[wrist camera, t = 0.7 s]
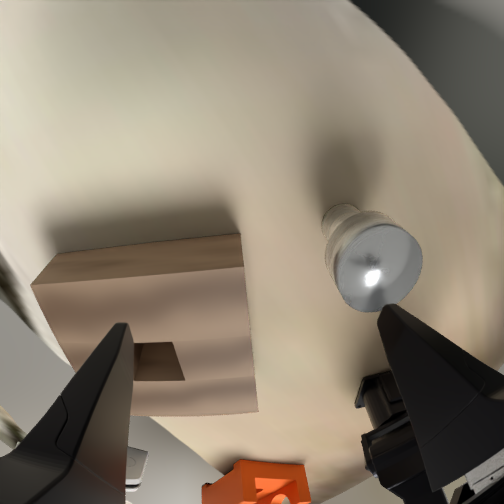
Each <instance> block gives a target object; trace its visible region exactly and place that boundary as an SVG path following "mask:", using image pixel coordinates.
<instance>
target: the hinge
mask: <svg viewBox="0 0 504 504" xmlns="http://www.w3.org/2000/svg"><path fill="white" fill-rule="evenodd" d="M147 459H148V451H144V450H140V449H136V448H132V447H129V446H128V447H127V463H126V488H125V491H136V490H138V488H139V487H140V485H141V481H142V477H143V474H144V470H145V467H146V463H147Z"/></svg>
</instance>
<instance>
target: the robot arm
mask: <svg viewBox="0 0 504 504" xmlns="http://www.w3.org/2000/svg"><path fill="white" fill-rule="evenodd" d="M377 326H378V329H379V333H380V336H381V339H382V343H383V346H384V350H385V353H386V356H387V360H388V362H389V365H390V367H391V370H392V371H389V372H385V373H381V374H377V375H373V376H369V377H365V378H364V379H363V380H362V384H361V387H360V390H359V393H358V397H357V400H356V403H355V407H356V408H362V407H365V408H366V410H367V413H368V415H369V418H370V421H371V423H372V426H373V428H374V430H372V431H370V432H368V433H365V434H363V435H361V437H362V441H361V443H362V446H363V451H364V456H365V468H366V470H368V471H371V473H372V474H373V476H374V477H375V478H379V481H380V484H381V485H382V486H383V487H385V488H386V489H388V490H389V491H391V492H392V493H394V494H395V495H397V496H398V497H400V498H401V499H403V501H404V504H449V502H448V499H447V497H446V494H445V492H444V489H443V487H444V486H446V485H448V484H450V483H451V482H453V481H455V480H457V479H458V478H460V477H462V476H463V475H465V477H466V480H467V482H466V483H464V484H463V485H461V486H460V487H458V488H456V489H455V491H454V493H453V496H452V499H451V502H450V504H504V375H502V374H501V373H499V372H498V371H496V370H494V369H493V368H491V367H489V366H488V365H486V364H484V363H483V362H481V361H479V360H478V359H476V358H475V357H473V356H472V355H470V354H469V353H468V352H466V351H465V350H463V349H462V348H460V347H459V346H457V345H456V344H454V343H453V342H452V341H450V340H449V339H447V338H446V337H444V336H443V335H441V334H440V333H438V332H437V331H435V330H434V329H432V328H431V327H429V326H428V325H426V324H425V323H423V322H422V321H420V320H419V319H417V318H416V317H414V316H413V315H411V314H410V313H408V312H407V311H405V310H404V309H402V308H401V307H399V306H398V305H396V304H394V303H392V304H386V305H384V306H383V308H382V311H381V313H380V315H379V318H378V321H377ZM133 363H134V341H133V337H132V333H131V330H130V327H129V324H128V323H126V322H117V323H115V324H114V325H113V327H112V328H111V329H110V330H109V332H108V333H107V334H106V335H105V337H104V338H103V339H102V340H101V342H100V343H99V344H98V345H97V347H96V348H95V349H94V350H93V352H92V353H91V354H90V356H89V357H88V358H87V359H86V361H85V362H84V363H83V365H82V366H81V367H80V369H79V370H78V371H77V372H76V374H75V375H74V377H73V378H72V379H71V380H70V382H69V383H68V385H67V386H66V387H65V388H64V390H63V391H62V393H61V395H59V396H58V398H57V399H56V401H55V402H54V403H53V405H52V406H51V407H50V409H49V410H48V411H47V413H46V414H45V415H44V416H43V417H42V418H41V420H40V421H39V422H38V423H37V424H36V426H35V427H34V428H33V429H32V430H31V431H30V432H29V433H28V434H27V436H26V437H25V438H24V439H23V440H22V441H21V442H20V444H19V445H18V446H17V447H16V448H15V449H14V450H13V451H12V452H10V453H9V454H7V455H5V456H3V457H0V504H125V488H126V463H127V447H128V433H129V421H130V411H131V402H132V393H133Z"/></svg>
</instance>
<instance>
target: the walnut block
mask: <svg viewBox="0 0 504 504" xmlns="http://www.w3.org/2000/svg"><path fill="white" fill-rule="evenodd" d="M30 286H31V288H32V290H33V293H34V295H35V297H36V299H37V301H38V304H39V306H40V308H41V310H42V312H43V314H44V316H45V318H46V320H47V322H48V324H49V326H50V328H51V330H52V332H53V334H54V336H55V337H56V339H57V341H58V343H59V345H60V347H61V348H62V350H63V352H64V354H65V355H66V357H67V359H68V361H69V362H70V364H71V366H72V367H73V369H74V370H75V372H77V371H78V370H79V369H80V367H81V366H82V365H83V363H84V362H85V361H86V359H87V358H88V357H89V356H90V354H91V353H92V352H93V350H94V349H95V348H96V347H97V345H98V344H99V343H100V342H101V340H102V339H103V338H104V337H105V335H106V334H107V333H108V332H109V330H110V329H111V328H112V327H113V325H114V324H115V323H117V322H126V323H128V324H129V327H130V330H131V333H132V337H133V341H134V363H133V393H132V402H131V411H130V415H134V416H212V415H229V414H242V413H253V412H259V411H258V402H257V392H256V383H255V373H254V363H253V354H252V344H251V334H250V324H249V314H248V304H247V294H246V283H245V273H244V263H243V254H242V245H241V235H240V233H239V234H229V235H219V236H209V237H200V238H190V239H180V240H171V241H162V242H153V243H144V244H135V245H126V246H118V247H109V248H101V249H93V250H84V251H76V252H68V253H60V254H57V255H56V256H55V257H54V258H53V259H52V260H51V261H50V263H49V264H48V265H47V266H46V267H45V268H44V269H43V271H42V272H41V273H40V274H39V275H38V276H37V278H36V279H35V280H34V281H33V282H32V284H31V285H30Z"/></svg>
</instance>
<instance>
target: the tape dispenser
mask: <svg viewBox="0 0 504 504" xmlns="http://www.w3.org/2000/svg"><path fill="white" fill-rule="evenodd" d="M233 467H234V469H233V470H232V471H231V472H229V473H228V474H226V475H225V476H223V477H222V478H221V479H219V480H218V481H216V482H215V483H205V484H203V485H202V504H281V503H282V501H283V499H284V498H285V497H286V496H287V497H288V499H289V501H290V503H291V504H308V503H310V502H311V497H310V492H309V487H308V482H307V477H306V472H305V468H304V465H293V464H279V463H268V462H258V461H250V460H242V459H240V460H239V461H237V462H236V463H235V464H233Z"/></svg>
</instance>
